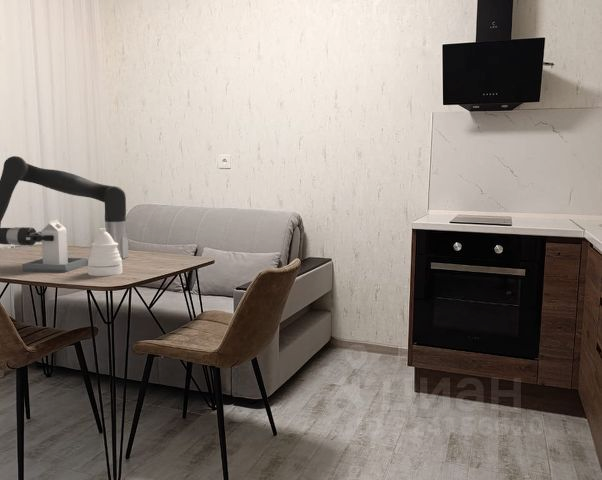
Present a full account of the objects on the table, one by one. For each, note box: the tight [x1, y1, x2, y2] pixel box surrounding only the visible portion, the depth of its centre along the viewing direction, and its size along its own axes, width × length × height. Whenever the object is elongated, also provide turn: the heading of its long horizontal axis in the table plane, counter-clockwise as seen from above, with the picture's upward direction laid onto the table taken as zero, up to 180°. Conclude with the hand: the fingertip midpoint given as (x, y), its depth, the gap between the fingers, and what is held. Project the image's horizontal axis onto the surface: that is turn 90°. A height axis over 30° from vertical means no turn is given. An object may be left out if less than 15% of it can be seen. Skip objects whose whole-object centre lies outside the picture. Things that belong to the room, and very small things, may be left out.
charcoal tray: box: [22, 257, 88, 273], centre depth 230 cm, size 18×18×3 cm
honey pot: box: [87, 227, 123, 277], centre depth 219 cm, size 13×13×18 cm
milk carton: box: [40, 219, 69, 264], centre depth 229 cm, size 7×7×19 cm
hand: (59, 237), depth 229 cm, fingers open, 8 cm apart
